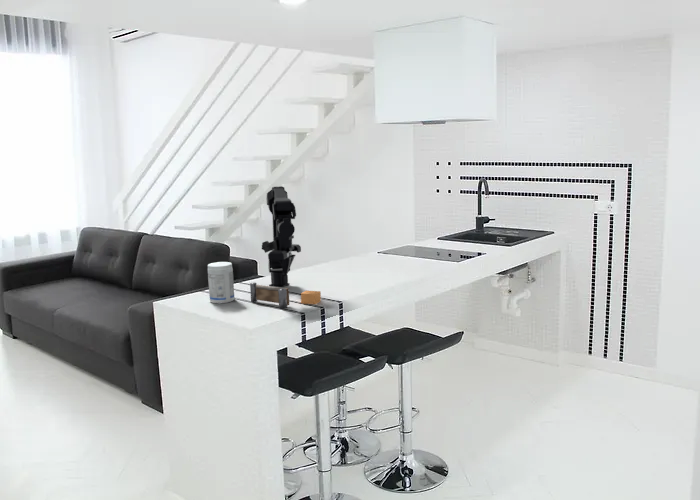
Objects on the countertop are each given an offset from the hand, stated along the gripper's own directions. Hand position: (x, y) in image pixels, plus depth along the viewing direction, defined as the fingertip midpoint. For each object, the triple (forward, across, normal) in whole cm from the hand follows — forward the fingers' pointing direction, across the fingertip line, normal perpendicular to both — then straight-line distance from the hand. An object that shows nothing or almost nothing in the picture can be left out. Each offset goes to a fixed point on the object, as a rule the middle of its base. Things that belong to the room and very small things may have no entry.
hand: (285, 274), depth 249 cm
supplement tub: (+11, +4, -26) cm, 28 cm away
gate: (+10, +5, -4) cm, 12 cm away
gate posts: (+11, +6, -5) cm, 13 cm away
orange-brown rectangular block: (+11, -2, +9) cm, 15 cm away
